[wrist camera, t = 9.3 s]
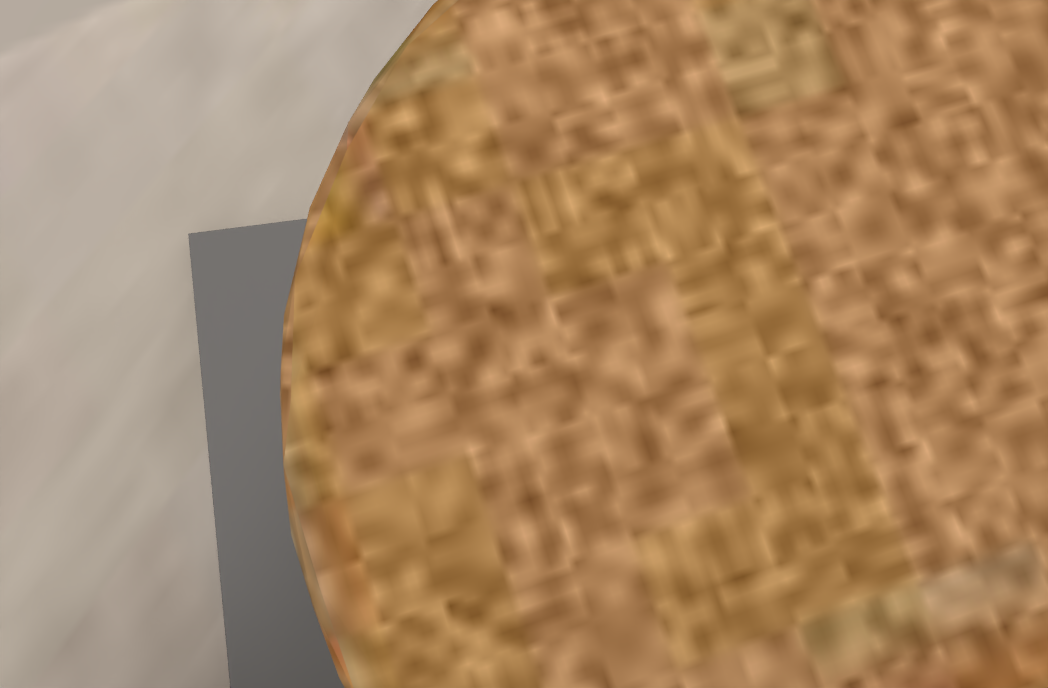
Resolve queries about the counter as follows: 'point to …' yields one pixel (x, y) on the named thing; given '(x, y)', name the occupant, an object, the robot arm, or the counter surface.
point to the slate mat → (253, 455)
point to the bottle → (681, 350)
